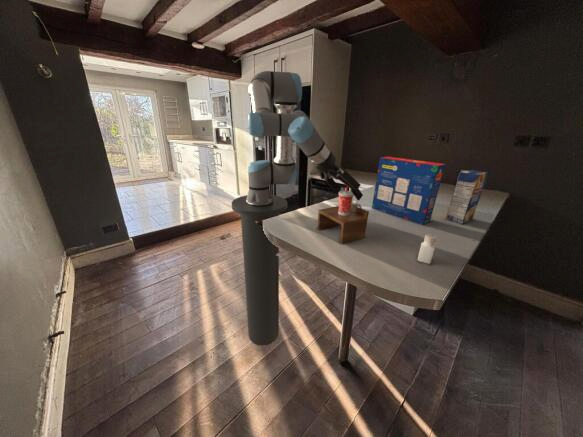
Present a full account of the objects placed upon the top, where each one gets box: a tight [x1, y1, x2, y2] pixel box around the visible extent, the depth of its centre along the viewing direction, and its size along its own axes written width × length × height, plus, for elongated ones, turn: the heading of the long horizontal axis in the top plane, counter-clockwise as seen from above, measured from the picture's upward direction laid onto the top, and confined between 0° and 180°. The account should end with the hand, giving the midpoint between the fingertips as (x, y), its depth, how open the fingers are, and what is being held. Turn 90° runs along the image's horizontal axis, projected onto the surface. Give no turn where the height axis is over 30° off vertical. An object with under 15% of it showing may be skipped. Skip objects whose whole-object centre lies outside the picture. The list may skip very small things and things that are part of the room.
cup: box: [352, 199, 363, 209], centre depth 116 cm, size 11×8×8 cm
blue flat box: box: [371, 156, 446, 226], centre depth 117 cm, size 28×8×28 cm, turn 38°
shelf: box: [316, 204, 370, 245], centre depth 98 cm, size 16×13×11 cm
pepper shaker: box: [417, 233, 437, 265], centre depth 79 cm, size 4×4×10 cm
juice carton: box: [445, 169, 489, 225], centre depth 113 cm, size 12×8×24 cm, turn 124°
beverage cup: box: [338, 185, 355, 216], centre depth 94 cm, size 6×6×14 cm
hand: (347, 193), depth 94 cm, fingers open, 13 cm apart
